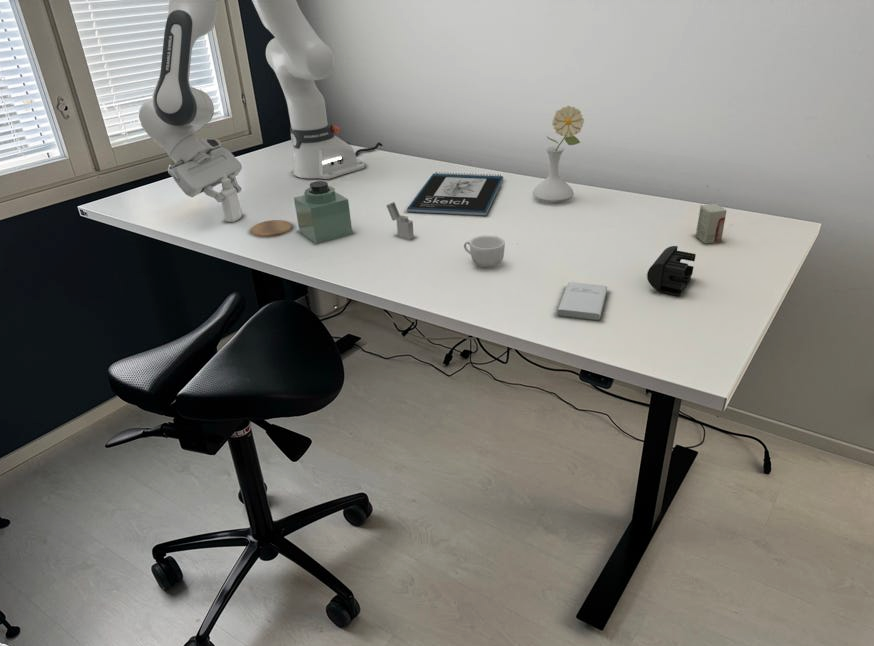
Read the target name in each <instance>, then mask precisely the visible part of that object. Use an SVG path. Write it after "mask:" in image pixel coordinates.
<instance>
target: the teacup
mask: <svg viewBox="0 0 874 646" xmlns="http://www.w3.org/2000/svg"><path fill="white" fill-rule="evenodd" d="M467 245H469V249H468V248H467ZM505 245H506V241H505V240H504V239H503V238H501V237H499V236H495V235H479V236H475V237H473V238H472V239H470V240H469V241H466V242H464V244H463V248H464V251H466V253H468V254H469V255H470V257H471V260H472V262H473V263H474V264H475V265H476V266H477V267H479V268H481V269H493V268H496V267H497V266H499V265H500V264H501V263H502V261H503V259H504V257H505V247H506V246H505Z"/></svg>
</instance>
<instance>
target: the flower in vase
mask: <svg viewBox="0 0 874 646" xmlns="http://www.w3.org/2000/svg"><path fill="white" fill-rule="evenodd" d="M584 123H585V118H584V117H583V114H582V110H580V109H579V108H576V107H575V106H570V105H567V106H562V107H561V109H558V110H556V111H555V114H554V117H553V119H552V122H551V125H552V127H553V129H554V130H555V134H557V135H560V136H561V137H562V136H563V138H562V139H561V141H560V142H558V141H557V140H556V139H553V138H551V137H549V136H546V138H547V139H548V140H550V141H552V142H554V143H556V144H558V145H551V146H547V147H545V151H546V153H547V154H548V158H549V174H548V176H547V177H546V178H544V179H543V180H542V181H540V183H538V184H537V185H536V186H535V187H534V188H533V190H532V196H533V198H535V199H537V200H539V201H542V202H547V203H561V202H565V201H568V200H570V199H571V198H572V197H573V196H574V194H575V192H574V189H573V188H572V187H571V185H569V184H568V183H567V182H566V181H564V179H562V178H561V177H560V175H559V164H560V159H561V156H562V154H563V152H564V151H565V147H562V146H561V145H562V143H563V142H564V141H565V143H566V144H567V145H568V146H575V145H579V144H580V143H581V141H580V140H579V138H578V137H576V136H575V135H577V134H580V132H581V130H582V128H583V126H584V125H583V124H584Z"/></svg>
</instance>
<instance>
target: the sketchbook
mask: <svg viewBox="0 0 874 646" xmlns="http://www.w3.org/2000/svg"><path fill="white" fill-rule="evenodd" d="M503 181H504V176H503V175H502V174H495V173H494V174H491V173H489V174H488V173H486V174H485V173H469V172H468V173H465V172H464V173H460V172H441V171H440V172H438V171H435V172H434V173H432V174H431V176H430V177H429V178H428V180H427V181H426V182H425V184H424V185H423V186H422V188H421V189H420V190H419V191H418V194H416V196H415V197H414V199H413V200H412V201H411V202H410V204H409V205H408V206H407V213H414V214H415V213H416V214H434V215H435V214H436V215H457V216H476V217H477V216H478V217H487V215H488V213H489V210H490V209H491V206H492V204H493V202H494V201H495V198H496V196H497V193H498V192H499V190H500V187H501V185H502V183H503Z"/></svg>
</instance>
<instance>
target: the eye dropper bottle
mask: <svg viewBox="0 0 874 646" xmlns="http://www.w3.org/2000/svg"><path fill="white" fill-rule="evenodd" d="M220 185H221V188H222V189H221V190H220V192H221V193H222V194H223V195H224V196H225V199H224V200H223V201H222V202H221V206H222V211H223V215H224V221H225V222H228V223H234V222H237V221H239V220H240V219H241V218H242V217H243V211H242V207H241V203H240V199H239V194H238V193H237V190H236V188H234V187H232V185H231V180H230V179H229V178H227V176H226V174H223V179H222V180H221V184H220Z"/></svg>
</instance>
